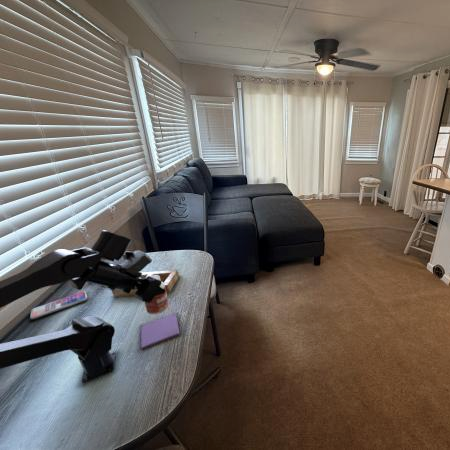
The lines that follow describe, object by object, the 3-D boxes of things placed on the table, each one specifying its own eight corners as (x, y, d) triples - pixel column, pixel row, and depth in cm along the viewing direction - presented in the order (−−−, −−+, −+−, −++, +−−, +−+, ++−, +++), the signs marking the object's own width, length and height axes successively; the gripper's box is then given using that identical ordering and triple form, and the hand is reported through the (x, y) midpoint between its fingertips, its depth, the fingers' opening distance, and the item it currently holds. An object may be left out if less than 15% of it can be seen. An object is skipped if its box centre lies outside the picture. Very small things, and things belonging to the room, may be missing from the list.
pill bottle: (162, 315, 73) (154, 284, 69) (142, 315, 73) (134, 284, 70) (173, 302, 79) (166, 273, 75) (155, 302, 79) (147, 273, 75)
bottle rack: (169, 292, 94) (167, 284, 93) (113, 297, 92) (111, 289, 91) (179, 276, 104) (177, 269, 103) (129, 280, 102) (127, 273, 101)
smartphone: (30, 308, 85) (85, 290, 95) (32, 311, 85) (86, 292, 95) (29, 318, 80) (87, 298, 90) (30, 321, 80) (88, 300, 90)
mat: (179, 334, 74) (179, 332, 74) (141, 348, 69) (141, 347, 69) (175, 315, 82) (175, 313, 82) (141, 327, 77) (141, 325, 77)
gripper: (146, 254, 61) (190, 272, 74) (109, 241, 69) (154, 258, 82) (120, 297, 57) (172, 308, 70) (84, 277, 65) (136, 290, 78)
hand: (158, 289), depth 75 cm, fingers closed on pill bottle, 6 cm apart
